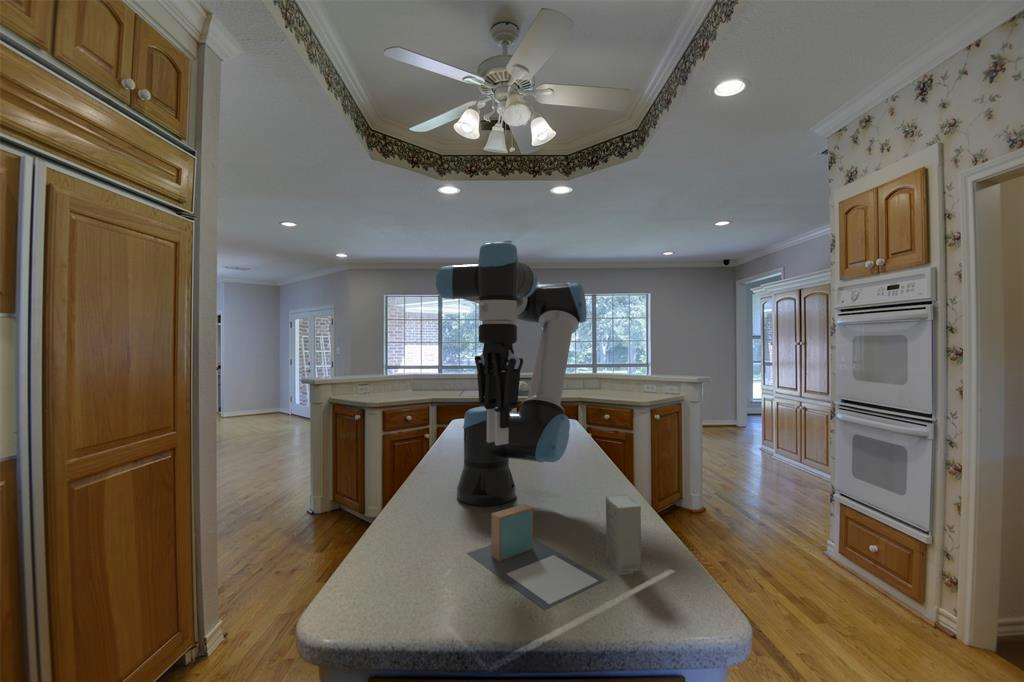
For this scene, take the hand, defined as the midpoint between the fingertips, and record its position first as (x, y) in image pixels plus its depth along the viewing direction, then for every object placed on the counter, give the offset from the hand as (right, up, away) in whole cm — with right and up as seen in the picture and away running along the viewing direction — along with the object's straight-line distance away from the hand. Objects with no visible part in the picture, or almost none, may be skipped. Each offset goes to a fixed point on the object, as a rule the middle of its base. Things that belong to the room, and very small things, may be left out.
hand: (497, 442), depth 89 cm
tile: (+3, -20, -4) cm, 21 cm away
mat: (+7, -21, -8) cm, 23 cm away
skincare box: (+23, -21, -8) cm, 32 cm away
